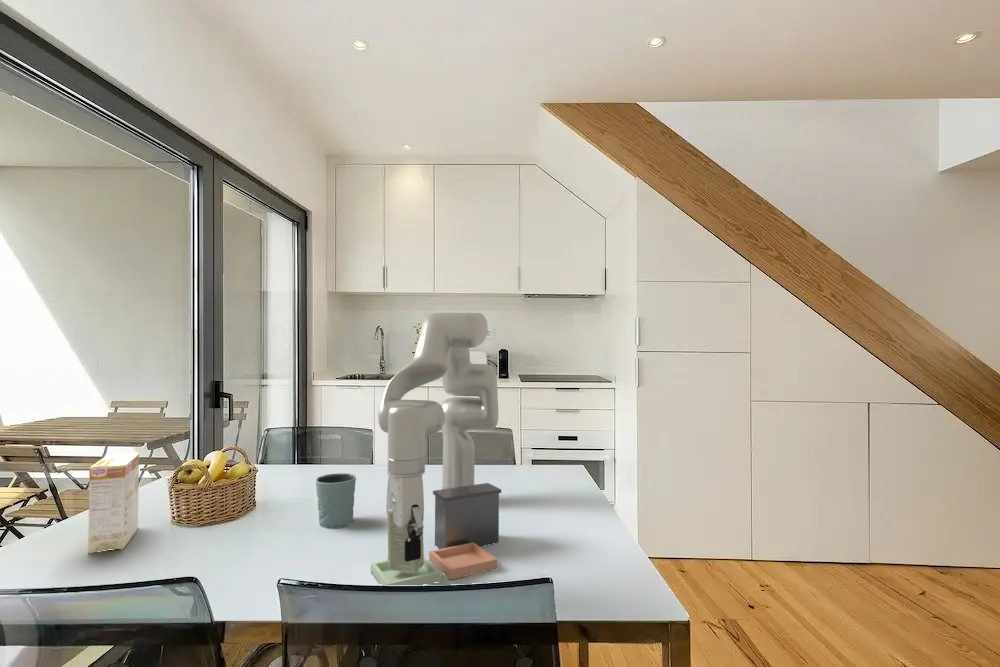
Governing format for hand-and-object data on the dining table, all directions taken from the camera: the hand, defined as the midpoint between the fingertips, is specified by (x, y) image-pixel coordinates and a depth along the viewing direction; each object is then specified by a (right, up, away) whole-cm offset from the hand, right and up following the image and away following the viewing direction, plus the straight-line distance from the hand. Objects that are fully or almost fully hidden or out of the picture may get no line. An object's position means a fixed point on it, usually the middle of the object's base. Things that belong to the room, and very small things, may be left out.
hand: (405, 552), depth 107 cm
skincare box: (0, -3, 0) cm, 3 cm away
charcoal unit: (+11, -6, +18) cm, 22 cm away
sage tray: (0, -5, 0) cm, 5 cm away
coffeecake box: (-73, -5, +19) cm, 76 cm away
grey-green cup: (-24, -6, +32) cm, 41 cm away
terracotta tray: (+11, -5, +6) cm, 14 cm away
